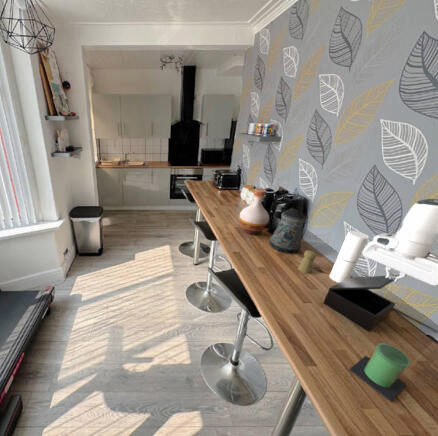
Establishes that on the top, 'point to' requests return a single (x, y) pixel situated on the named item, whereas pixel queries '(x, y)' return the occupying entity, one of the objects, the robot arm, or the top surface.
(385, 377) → the pot
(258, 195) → the white vase
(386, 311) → the bin
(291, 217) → the beer stein
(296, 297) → the top surface
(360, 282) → the bin lid
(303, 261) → the cork
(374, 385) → the mat
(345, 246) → the cylindrical container
